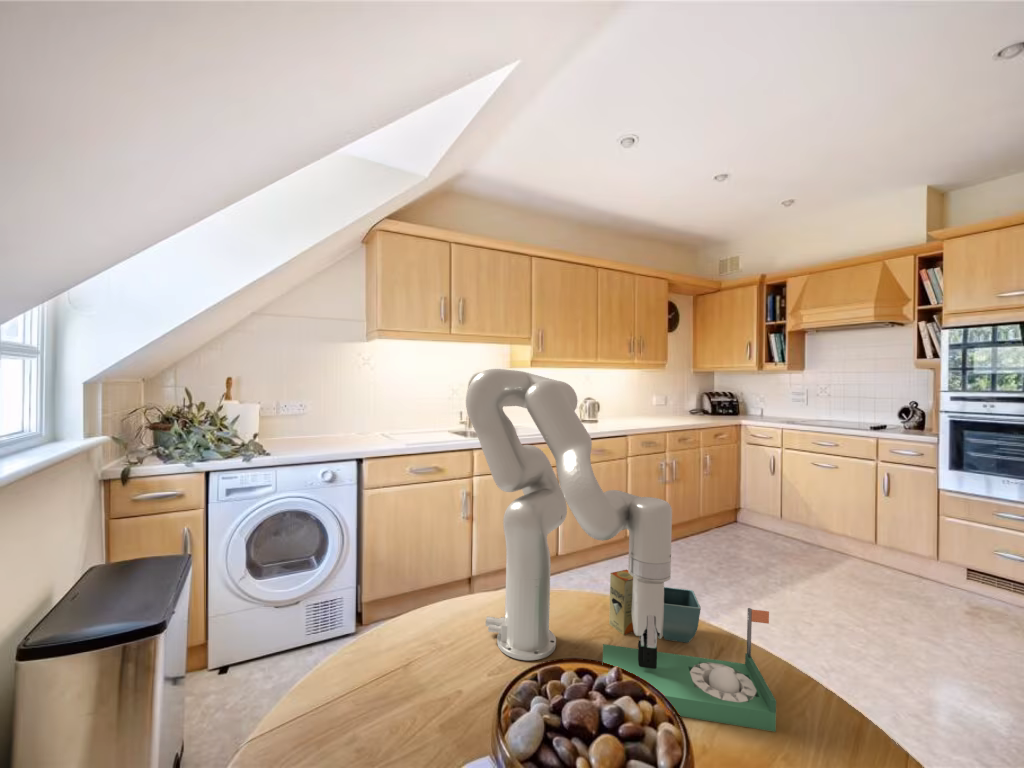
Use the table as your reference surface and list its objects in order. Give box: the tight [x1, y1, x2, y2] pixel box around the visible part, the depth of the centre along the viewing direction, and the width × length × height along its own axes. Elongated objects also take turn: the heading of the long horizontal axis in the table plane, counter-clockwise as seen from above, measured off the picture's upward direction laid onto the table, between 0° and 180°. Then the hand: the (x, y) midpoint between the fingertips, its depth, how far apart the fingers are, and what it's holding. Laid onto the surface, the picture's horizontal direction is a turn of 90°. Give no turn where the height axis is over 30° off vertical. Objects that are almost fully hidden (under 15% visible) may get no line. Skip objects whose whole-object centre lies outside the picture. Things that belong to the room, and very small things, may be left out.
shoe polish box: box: [608, 569, 634, 636], centre depth 102 cm, size 5×5×12 cm
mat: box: [602, 643, 777, 733], centre depth 81 cm, size 28×13×5 cm, turn 78°
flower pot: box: [662, 586, 701, 644], centre depth 99 cm, size 9×9×9 cm
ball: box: [709, 667, 740, 694], centre depth 79 cm, size 5×5×5 cm
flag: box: [746, 607, 770, 667], centre depth 83 cm, size 4×1×14 cm, turn 78°
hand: (647, 665), depth 82 cm, fingers closed
